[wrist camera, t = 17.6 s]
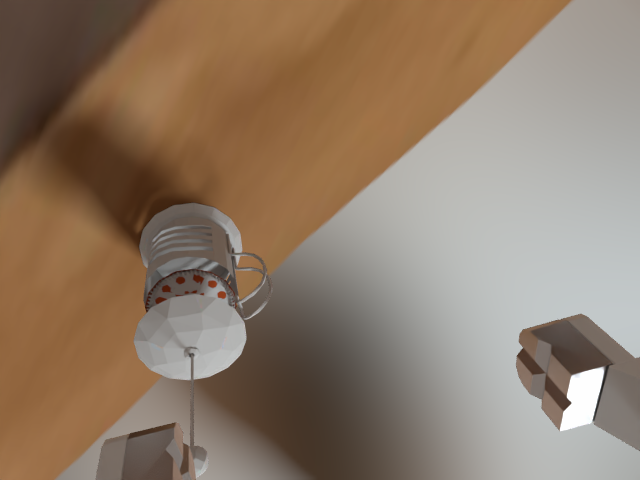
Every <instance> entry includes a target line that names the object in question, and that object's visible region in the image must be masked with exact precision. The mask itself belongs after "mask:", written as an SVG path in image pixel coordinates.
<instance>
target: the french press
mask: <svg viewBox="0 0 640 480" xmlns="http://www.w3.org/2000/svg"><path fill="white" fill-rule="evenodd" d="M139 249H140V252H141V256H142V260H143V264H144V265H145V266H146V268H147V274H146V282H145V289H144V303H145V308H146V312H147V313H146V314H145V316H144V317H143V318H142V319H141V320H140V322H139V323H138V326H137V330H136V334H135V338H134V344H135V347H136V351H137V354H138V357H139V359H140V360H141V361H142V362H143V363H144V364H145V365H146V366H147V367H148V368H149V369H150V370H152V371H154V372H156V373H159V374H161V375H163V376H165V377H167V378H174V379H184V380H191V426H190V429H191V430H190V446H189V448H190V450H191V453H192V457H193V461H194V466H195V474H196V477H199V476H200V475H201V474H202V473H203V472H204V471H205V470H206V469H207V467H208V464H209V461H208V453H207V451H206V450H205V449H204V448H202V447H200V446H194V379H199V378H204V377H210V376H212V375H214V374H216V373H218V372H220V371H222V370H224V369H226V368H228V367H229V366H230V365H231V364H232V363H233V362H234V361H235V360H236V359H237V358H238V357H239V356H240V355H241V352H242V350H243V347H244V344H245V342H246V331H245V324H244V321H243V320H242V319H241V318H243V319H249V318H251V317H252V316H254V315H255V314H257V313H258V312H259V311H261V310H262V309H263V307H264V306H265V305H266V304H267V302H268V300H269V298H270V296H271V294H272V290H273V286H272V282H271V278H270V277H269V276H268V275H267V269H266V266H265V263H264V261H263V260H262V259H261V258H260V257H258V256H257V255H255V254H251V253H241V252H242V244H241V236H240V232H239V231H238V229H237V228H236V226H235V224H234V223H233V221H232V220H231V218H229V217H228V216H226V215H225V214H223V213H222V212H220V211H219V210H217V209H216V208H214V207H210V206H206V205H202V204H197V203H188V204H180V205H173V206H171V207H169V208H167V209H165V210H163V211H161V212H160V213H158V214H156V215H155V216H154V217H153V218H152V219H151V220H150V222H149V223H148V224H147V225H146V227H145V228H144V229H143V232H142V236H141V241H140V245H139ZM240 256H253V257H255V258H257V259H258V260H259V261H260V262H261V264H262V265H263V270H264V271H262V270H261V269H257V268H252V267H246V268H238V267H237V264H238V261H239V258H240ZM235 269H236V270H252V271H258V272H260V273H262V274H263V278H262V281H261V283H260V284H259V285H258V287H257V288H256V289H255V290H254V292H253V293H251V294H250V295H248V296H247V297H245V298H243V299H242V300H239V297H238V289H237V282H236V274H235ZM229 274H230V276H229V278H228V279H227V281H226V278H227V276H228V275H229ZM265 278H267V281H268V283H269V286H270V288H269V292H268V295H267V298H266V300H265V302H264V303H263V304H262V305H261V306H260V308H259V309H258V310H256V311H255V312H253V313H252V314H250V315H249V316H245V315H244V312H243V308H242V305H241V303H243V302H245V301H246V300H248V299H249V298H251V297H252V296H254V295H255V294H256V293H257V291H258V290H259V289H260V287H261V286H262V285H263V284H264V282H265ZM229 281H231V283H230V285H229V284H228V283H229ZM236 303H237V304H238V306H239V309H240V313H241V317H240V316H239V314H238V313H237V312H236V310H235V309H236Z"/></svg>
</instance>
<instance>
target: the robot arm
mask: <svg viewBox="0 0 640 480" xmlns="http://www.w3.org/2000/svg"><path fill="white" fill-rule="evenodd" d="M519 343H520V344H521V345H522V347H523V349H522V350H521V351H520V353H519V354H518V355H517V360H516V368H517V372H518V375H519V378H520V380H521V382H522V384H523V385H524V387H525V388H526V389H527V391H528V392H529V393H530V394H531V395H533V396H535V397H537V398H539V399H542V410H543V411H544V412H545V414H546V415H547V416H548V417H549V418H550V420H551V421H552V422H553V423H554V425H555V426H556V427H557V428H558V430H559V431H563V430H567V429H570V428H574V427H578V426H582V425H585V424H589V423H593V422H594V425H596V426H598V427H599V428H601V429H603V430H605V431H606V432H608V433H610V434H611V435H613V436H615V437H616V438H618V439H620V440H622V441H624V442H625V443H627V444H629V445H630V446H632V447H634V448H635V449H637V450H639V451H640V357H639V358H634V357H633V356H632V355H631V354H630V353H629V352H627V351H626V350H625V349H624V348H623V347H622V346H620V345H619V344H618V343H617V342H616V341H615V340H614V339H612V338H611V337H610V336H609V335H608V334H607V333H605V332H604V331H603V330H602V329H601V328H600V327H598V326H597V325H596V324H595V323H594V322H593V321H592V320H590V319H589V318H588V317H587V316H585V315H582V314H578V315H575V316H571V317H567V318H563V319H561V320H555V321H552V322H549V323H545V324H541V325H537V326H534V327H530V328H527V329H523V330H522V332H521V333H520V336H519ZM96 480H196V474H195V466H194V461H193V457H192V453H191V450H190V448H189V446H188V445H186V444H184V443H183V431H182V429H181V426H180V424H179V423H177V422H176V423H172V424H167V425H163V426H159V427H155V428H151V429H147V430H143V431H138V432H134V433H130V434H127V435H123V436H119V437H115V438H111V439H107V440H105V442H104V444H103V446H102V449H101V453H100V459H99V464H98V469H97V475H96Z"/></svg>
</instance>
